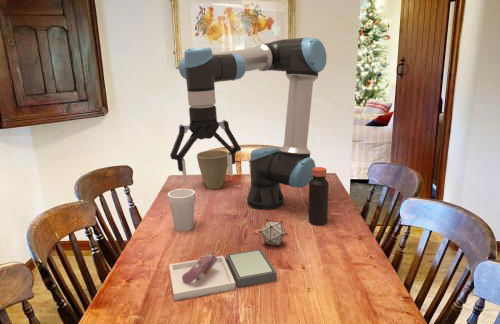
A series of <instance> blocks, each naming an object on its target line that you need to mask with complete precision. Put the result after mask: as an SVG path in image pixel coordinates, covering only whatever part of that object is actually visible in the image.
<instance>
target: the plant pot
mask: <svg viewBox="0 0 500 324" xmlns="http://www.w3.org/2000/svg"><path fill="white" fill-rule="evenodd" d="M227 153H229V151H228V150H227V151H226V150H223V149H219V150H218V149H213V150H211V149H210V150H205V151H201V152H198V153H197V154H196V159H197V165H198V168H199V171H200V174H201V176H202V177H201V178H202V179H203V181H204V184H205V186H206V188H207V189H209V190H217V189H221V188H222V187H223V186H224V182H225V180H226V175H227V173H228V163H227Z"/></svg>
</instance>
